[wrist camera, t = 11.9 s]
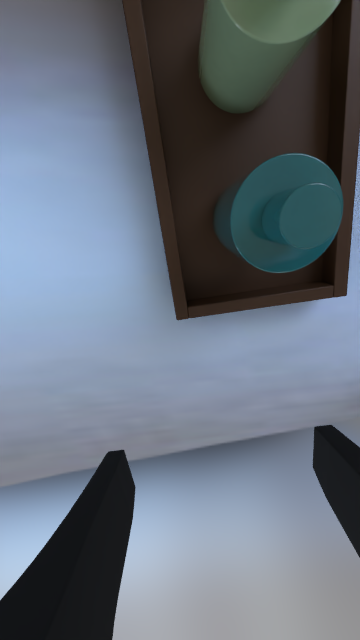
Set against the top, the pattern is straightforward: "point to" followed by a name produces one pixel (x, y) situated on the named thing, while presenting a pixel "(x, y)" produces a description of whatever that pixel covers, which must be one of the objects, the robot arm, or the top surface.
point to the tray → (241, 152)
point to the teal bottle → (280, 213)
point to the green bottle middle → (254, 46)
